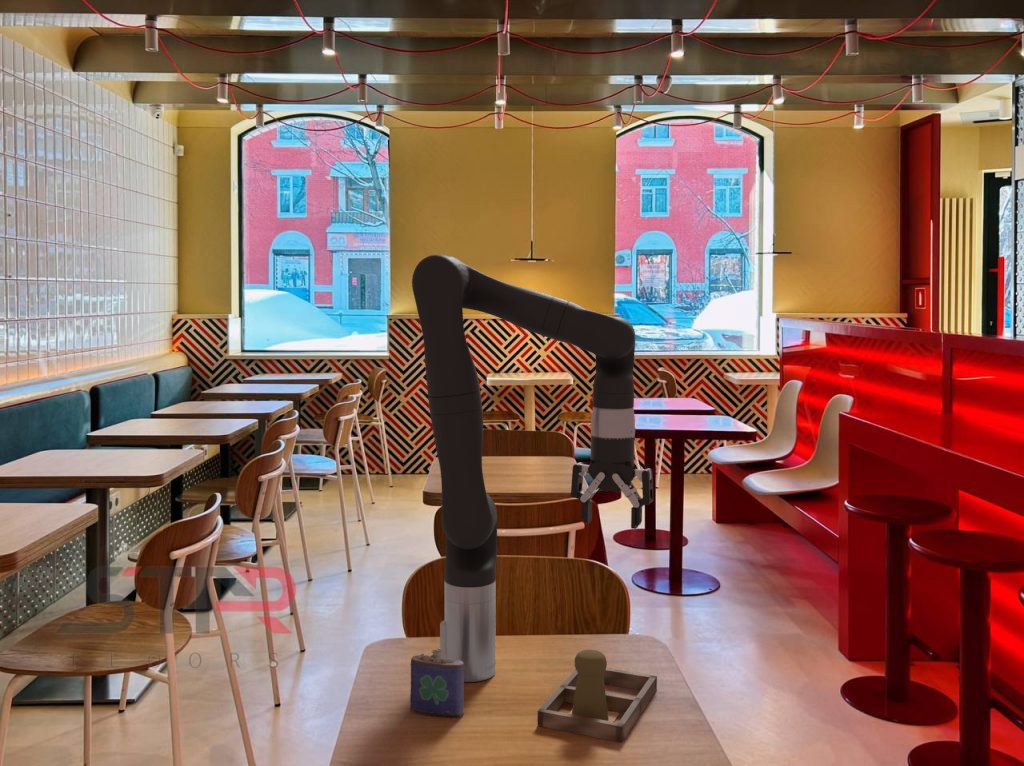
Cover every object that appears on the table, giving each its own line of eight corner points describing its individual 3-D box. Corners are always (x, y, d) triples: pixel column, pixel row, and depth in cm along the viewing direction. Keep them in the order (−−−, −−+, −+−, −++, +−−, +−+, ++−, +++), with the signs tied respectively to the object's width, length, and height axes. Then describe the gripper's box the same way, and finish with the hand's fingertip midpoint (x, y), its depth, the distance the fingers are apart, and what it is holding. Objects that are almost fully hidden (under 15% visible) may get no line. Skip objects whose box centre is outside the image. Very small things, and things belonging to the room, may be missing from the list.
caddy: (537, 725, 153) (537, 710, 153) (580, 677, 172) (580, 663, 172) (622, 742, 148) (622, 726, 147) (656, 690, 167) (656, 676, 167)
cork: (606, 728, 152) (607, 661, 151) (568, 724, 153) (569, 657, 152) (610, 711, 158) (611, 647, 157) (574, 708, 159) (574, 644, 158)
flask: (466, 712, 158) (465, 649, 157) (460, 720, 155) (460, 656, 154) (413, 705, 160) (413, 643, 159) (407, 713, 158) (406, 650, 157)
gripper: (566, 433, 165) (565, 525, 167) (646, 439, 159) (644, 534, 161) (581, 427, 172) (580, 516, 174) (658, 432, 166) (656, 524, 168)
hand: (611, 525), depth 167 cm, fingers open, 8 cm apart
